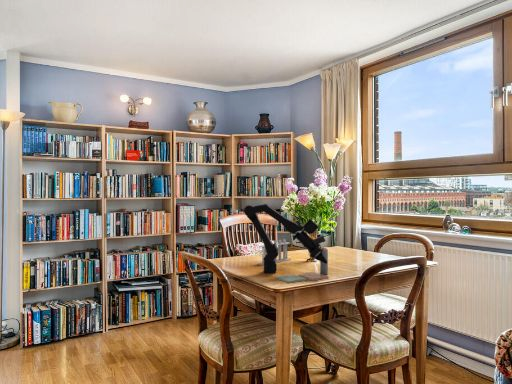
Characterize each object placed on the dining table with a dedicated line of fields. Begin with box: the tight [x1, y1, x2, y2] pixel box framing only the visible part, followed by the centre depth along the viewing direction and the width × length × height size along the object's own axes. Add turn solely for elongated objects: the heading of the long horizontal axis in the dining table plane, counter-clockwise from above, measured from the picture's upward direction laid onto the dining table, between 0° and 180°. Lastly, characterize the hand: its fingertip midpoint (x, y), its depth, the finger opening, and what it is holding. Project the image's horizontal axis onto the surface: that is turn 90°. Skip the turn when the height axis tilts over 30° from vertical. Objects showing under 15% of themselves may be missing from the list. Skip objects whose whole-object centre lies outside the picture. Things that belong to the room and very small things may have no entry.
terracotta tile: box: [297, 271, 330, 282], centre depth 204 cm, size 11×11×1 cm
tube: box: [319, 246, 329, 276], centre depth 212 cm, size 4×4×14 cm
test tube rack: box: [258, 239, 292, 266], centre depth 246 cm, size 25×4×13 cm, turn 136°
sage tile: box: [275, 274, 307, 284], centre depth 199 cm, size 11×11×1 cm
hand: (326, 261), depth 212 cm, fingers open, 9 cm apart
